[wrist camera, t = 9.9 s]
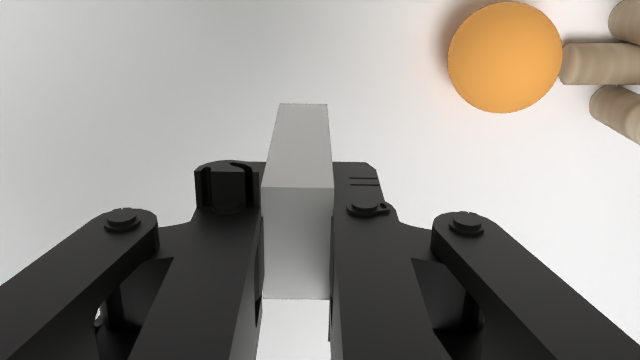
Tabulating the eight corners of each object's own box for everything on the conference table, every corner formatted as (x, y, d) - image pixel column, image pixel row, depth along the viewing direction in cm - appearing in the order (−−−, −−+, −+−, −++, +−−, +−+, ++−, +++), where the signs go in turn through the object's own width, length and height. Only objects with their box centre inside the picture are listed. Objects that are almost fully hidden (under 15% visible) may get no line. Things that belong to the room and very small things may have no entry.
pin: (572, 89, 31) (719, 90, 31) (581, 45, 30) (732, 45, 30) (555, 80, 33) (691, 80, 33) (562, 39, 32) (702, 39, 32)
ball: (558, 108, 32) (458, 96, 34) (577, 1, 30) (469, -2, 32) (543, 131, 27) (428, 115, 30) (565, 6, 25) (438, 1, 27)
